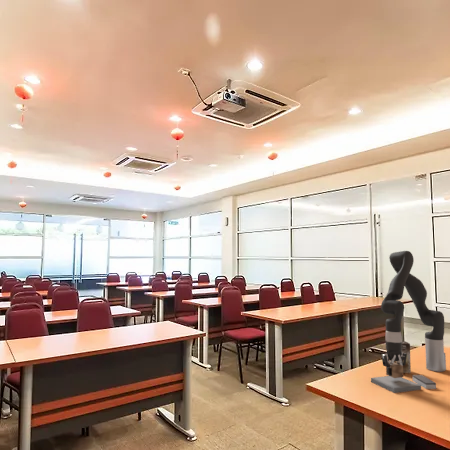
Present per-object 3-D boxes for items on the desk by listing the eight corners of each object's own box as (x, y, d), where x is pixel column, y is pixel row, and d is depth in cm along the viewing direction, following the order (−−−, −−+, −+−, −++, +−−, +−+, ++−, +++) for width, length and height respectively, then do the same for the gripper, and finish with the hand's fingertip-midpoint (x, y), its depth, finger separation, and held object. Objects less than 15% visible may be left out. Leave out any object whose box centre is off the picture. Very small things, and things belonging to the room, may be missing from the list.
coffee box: (394, 372, 202) (393, 343, 204) (389, 369, 209) (389, 340, 210) (411, 373, 201) (410, 343, 203) (406, 369, 208) (405, 341, 209)
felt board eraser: (412, 381, 189) (412, 375, 190) (422, 381, 190) (421, 374, 190) (426, 389, 178) (425, 383, 178) (436, 389, 178) (435, 382, 178)
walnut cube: (395, 373, 186) (394, 362, 186) (403, 377, 181) (403, 365, 181) (386, 374, 184) (385, 363, 185) (394, 378, 179) (394, 366, 180)
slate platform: (396, 378, 192) (396, 374, 192) (421, 389, 177) (420, 385, 177) (371, 381, 187) (370, 377, 187) (394, 393, 172) (394, 388, 172)
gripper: (399, 337, 190) (400, 371, 188) (376, 339, 185) (377, 373, 184) (410, 341, 183) (412, 375, 181) (387, 342, 178) (388, 378, 177)
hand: (394, 374), depth 182 cm, fingers closed on walnut cube, 5 cm apart
